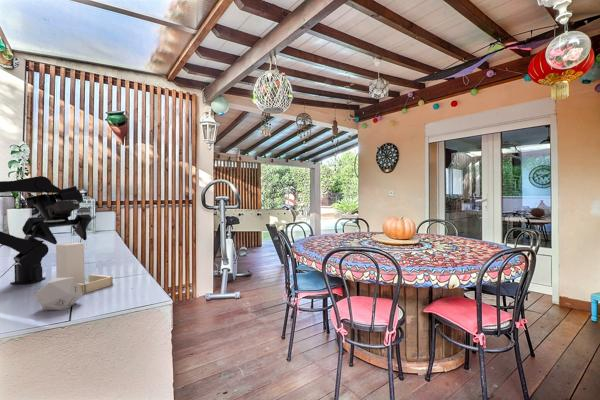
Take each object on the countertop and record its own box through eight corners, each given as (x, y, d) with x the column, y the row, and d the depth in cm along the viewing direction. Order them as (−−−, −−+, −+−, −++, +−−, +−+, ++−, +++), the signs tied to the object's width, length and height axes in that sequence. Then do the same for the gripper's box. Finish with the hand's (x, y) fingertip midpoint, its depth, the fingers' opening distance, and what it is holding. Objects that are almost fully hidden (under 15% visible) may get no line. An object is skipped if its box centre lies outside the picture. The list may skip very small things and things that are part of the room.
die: (43, 322, 66) (74, 285, 69) (17, 302, 68) (48, 266, 71) (69, 320, 74) (96, 287, 77) (46, 302, 75) (73, 270, 78)
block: (57, 286, 89) (55, 244, 89) (74, 282, 94) (73, 242, 93) (67, 288, 87) (66, 245, 87) (84, 283, 92) (83, 242, 92)
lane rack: (44, 291, 87) (44, 280, 87) (79, 282, 96) (79, 272, 96) (81, 297, 81) (80, 285, 81) (114, 286, 91) (114, 276, 91)
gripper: (26, 192, 90) (49, 227, 87) (88, 192, 108) (109, 222, 104) (12, 217, 93) (34, 252, 89) (74, 213, 111) (95, 243, 107)
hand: (71, 241), depth 97 cm, fingers open, 9 cm apart
